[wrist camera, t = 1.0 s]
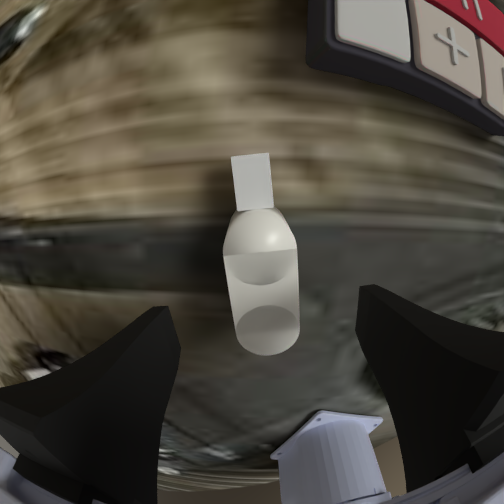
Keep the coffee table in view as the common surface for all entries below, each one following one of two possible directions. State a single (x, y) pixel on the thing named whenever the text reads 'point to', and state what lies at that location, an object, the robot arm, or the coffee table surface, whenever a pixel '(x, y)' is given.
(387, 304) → the robot arm
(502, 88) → the calculator
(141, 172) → the coffee table surface
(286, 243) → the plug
